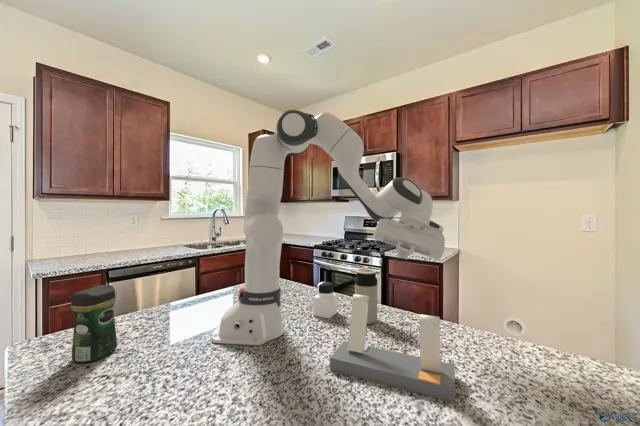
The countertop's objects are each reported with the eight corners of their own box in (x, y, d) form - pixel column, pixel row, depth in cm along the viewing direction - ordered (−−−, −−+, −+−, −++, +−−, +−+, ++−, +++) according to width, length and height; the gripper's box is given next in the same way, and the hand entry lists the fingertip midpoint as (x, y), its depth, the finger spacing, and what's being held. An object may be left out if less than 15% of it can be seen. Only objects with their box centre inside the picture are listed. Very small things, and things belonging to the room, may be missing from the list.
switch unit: (329, 369, 70) (329, 356, 70) (344, 351, 79) (344, 339, 79) (454, 402, 58) (454, 387, 58) (454, 376, 67) (454, 363, 67)
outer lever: (420, 369, 65) (419, 317, 61) (421, 362, 67) (420, 312, 63) (439, 373, 63) (439, 321, 59) (440, 366, 65) (439, 315, 61)
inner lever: (346, 349, 73) (353, 293, 77) (349, 349, 74) (355, 294, 78) (362, 353, 71) (367, 295, 75) (364, 352, 73) (369, 296, 77)
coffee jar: (97, 345, 83) (97, 282, 82) (122, 347, 82) (122, 283, 82) (64, 363, 73) (63, 292, 73) (91, 365, 72) (90, 293, 72)
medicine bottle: (337, 312, 109) (337, 281, 109) (330, 319, 103) (330, 286, 103) (320, 309, 112) (320, 279, 112) (312, 315, 106) (312, 284, 106)
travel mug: (366, 326, 96) (367, 274, 96) (350, 319, 102) (350, 270, 102) (381, 320, 101) (382, 270, 101) (365, 314, 107) (365, 267, 107)
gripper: (381, 209, 90) (368, 236, 80) (449, 228, 83) (443, 261, 74) (378, 224, 94) (365, 252, 84) (443, 243, 87) (436, 276, 78)
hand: (402, 256), depth 79 cm, fingers closed
